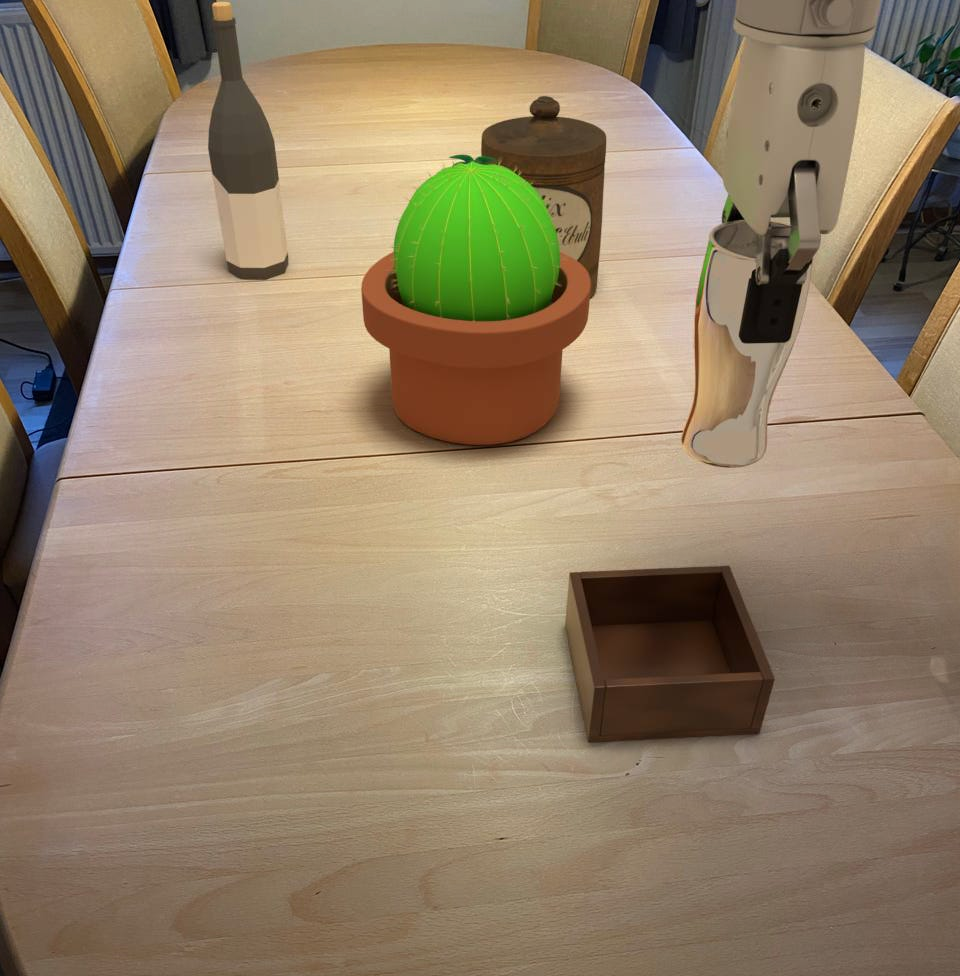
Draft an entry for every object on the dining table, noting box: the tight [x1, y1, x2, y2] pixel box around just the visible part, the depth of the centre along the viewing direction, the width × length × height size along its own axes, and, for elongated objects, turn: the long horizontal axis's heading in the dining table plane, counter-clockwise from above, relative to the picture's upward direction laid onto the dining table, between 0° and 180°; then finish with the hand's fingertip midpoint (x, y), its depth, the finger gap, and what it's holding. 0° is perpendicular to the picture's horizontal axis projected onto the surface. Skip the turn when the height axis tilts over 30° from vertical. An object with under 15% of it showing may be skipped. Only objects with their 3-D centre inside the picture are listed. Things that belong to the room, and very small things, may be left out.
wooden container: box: [480, 95, 607, 298], centre depth 123 cm, size 15×15×22 cm
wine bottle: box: [207, 1, 289, 280], centre depth 125 cm, size 8×8×30 cm
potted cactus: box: [360, 154, 591, 446], centre depth 101 cm, size 22×22×25 cm
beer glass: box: [680, 219, 814, 469], centre depth 69 cm, size 7×7×15 cm
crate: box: [564, 565, 776, 743], centre depth 77 cm, size 13×13×6 cm
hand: (748, 311), depth 67 cm, fingers closed on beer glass, 7 cm apart
